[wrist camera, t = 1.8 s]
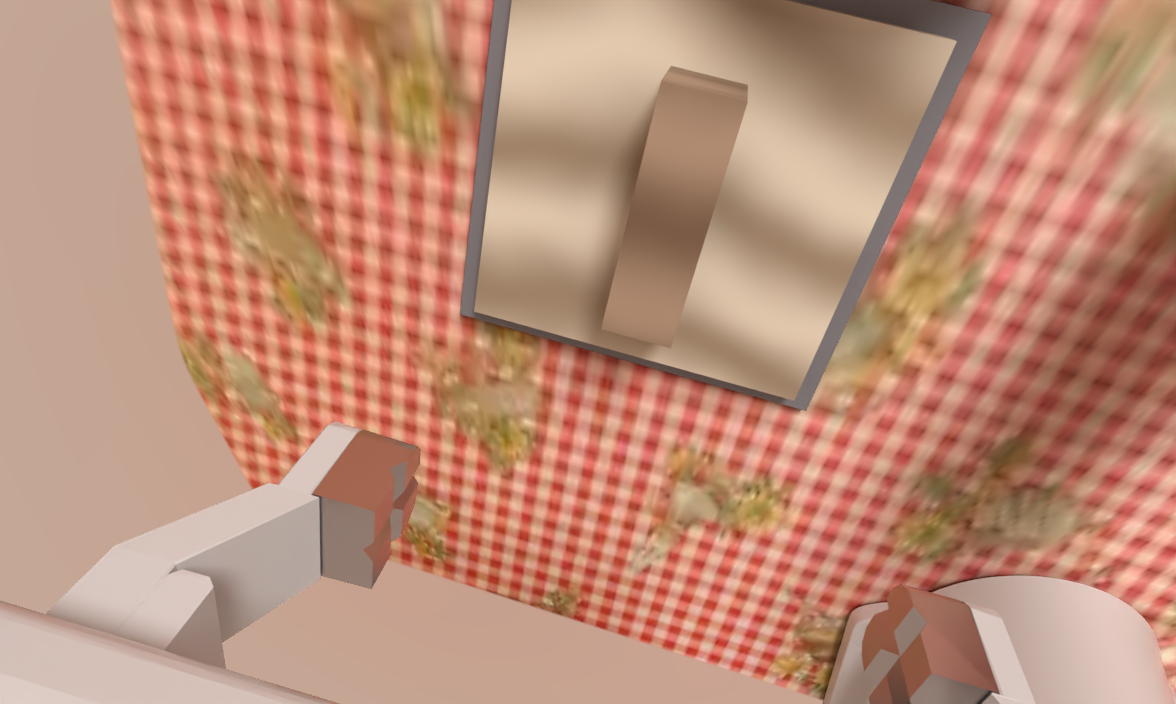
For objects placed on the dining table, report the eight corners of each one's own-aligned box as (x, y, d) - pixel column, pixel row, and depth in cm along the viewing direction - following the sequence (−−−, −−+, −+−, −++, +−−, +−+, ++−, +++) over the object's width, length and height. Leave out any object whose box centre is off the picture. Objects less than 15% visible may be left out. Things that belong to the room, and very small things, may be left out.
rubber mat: (805, 405, 34) (805, 410, 34) (463, 309, 35) (460, 314, 35) (987, 13, 24) (991, 14, 24) (509, -100, 26) (505, -101, 25)
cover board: (793, 389, 33) (799, 446, 29) (480, 302, 34) (447, 346, 30) (949, 37, 25) (986, 54, 21) (527, -64, 26) (488, -65, 22)
